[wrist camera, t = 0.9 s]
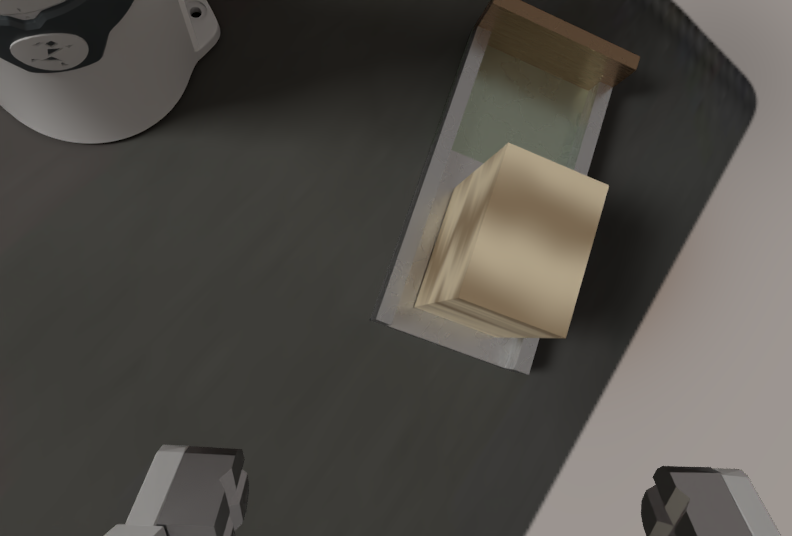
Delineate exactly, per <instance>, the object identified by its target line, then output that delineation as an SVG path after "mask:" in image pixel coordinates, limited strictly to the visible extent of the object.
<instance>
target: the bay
mask: <svg viewBox="0 0 792 536" xmlns="http://www.w3.org/2000/svg"><path fill="white" fill-rule="evenodd" d="M639 59H640V56H638V55H636V54H633V53H631V52H629V51H627V50H625V49H623V48H621V47H619V46H616V45H614V44H612V43H610V42H608V41H606V40H604V39H602V38H599V37H597V36H595V35H593V34H591V33H589V32H587V31H585V30H582V29H580V28H578V27H576V26H574V25H572V24H570V23H568V22H565V21H563V20H561V19H559V18H557V17H555V16H553V15H551V14H548V13H546V12H544V11H542V10H540V9H538V8H536V7H534V6H531V5H529V4H527V3H525V2H523V1H521V0H490V2H489V4H488V5H487V7H486V8H485V10H484V12H483V13H482V15H481V16H480V18H479V20H478V21H477V23H476V24H475V26H474V27H473V29H472V31H471V33H470V36H469V39H468V41H467V44H466V47H465V50H464V53H463V56H462V59H461V61H460V64H459V67H458V70H457V73H456V76H455V79H454V81H453V84H452V87H451V90H450V93H449V96H448V99H447V101H446V104H445V107H444V110H443V113H442V116H441V119H440V121H439V124H438V127H437V130H436V133H435V136H434V139H433V141H432V144H431V147H430V150H429V153H428V156H427V159H426V161H425V164H424V167H423V170H422V173H421V176H420V179H419V181H418V184H417V187H416V190H415V193H414V196H413V199H412V201H411V204H410V207H409V210H408V213H407V216H406V219H405V221H404V224H403V227H402V230H401V233H400V236H399V239H398V241H397V244H396V247H395V250H394V253H393V256H392V258H391V261H390V264H389V267H388V270H387V273H386V276H385V278H384V281H383V284H382V287H381V290H380V293H379V296H378V298H377V301H376V304H375V307H374V310H373V313H372V316H371V318H370V321H373V322H376V323H378V324H381V325H384V326H387V327H389V328H392V329H395V330H398V331H400V332H403V333H406V334H409V335H412V336H414V337H417V338H420V339H423V340H425V341H428V342H431V343H434V344H437V345H439V346H442V347H445V348H448V349H450V350H453V351H456V352H459V353H461V354H464V355H467V356H470V357H473V358H475V359H478V360H481V361H484V362H486V363H489V364H492V365H495V366H498V367H500V368H503V369H506V370H509V371H511V372H515V373H521V374H527V375H529V372H530V369H531V366H532V362H533V359H534V355H535V352H536V348H537V345H538V342H539V338H496V337H494V336H491V335H488V334H485V333H483V332H480V331H477V330H475V329H472V328H469V327H466V326H464V325H461V324H458V323H456V322H453V321H450V320H448V319H445V318H442V317H439V316H437V315H434V314H431V313H429V312H426V311H423V310H420V309H418V308H415V307H414V305H415V303H416V300H417V297H418V294H419V291H420V288H421V285H422V282H423V279H424V276H425V273H426V270H427V267H428V264H429V261H430V258H431V255H432V252H433V249H434V246H435V243H436V240H437V237H438V234H439V231H440V228H441V225H442V222H443V219H444V216H445V214H446V211H447V208H448V205H449V202H450V199H451V196H452V193H453V190H454V188H455V187H456V186H457V185H459V184H460V183H461V182H462V181H463V180H465V179H466V178H467V177H468V176H469V175H470V174H472V173H473V172H474V171H475V170H476V169H478V168H479V167H480V166H481V165H482V164H484V163H485V162H486V161H487V160H488V159H489V158H491V157H492V156H493V155H494V154H495V153H497V152H498V151H499V150H500V149H501V148H503V147H504V146H505V145H506V144H507V143H508V142H509V143H511V144H513V145H516V146H518V147H520V148H523V149H525V150H527V151H530V152H532V153H534V154H537V155H539V156H541V157H544V158H546V159H548V160H551V161H553V162H555V163H558V164H560V165H562V166H565V167H567V168H569V169H572V170H574V171H577V172H579V173H581V174H584V175H586V176H587V174H588V171H589V167H590V164H591V160H592V157H593V153H594V150H595V147H596V143H597V140H598V136H599V133H600V129H601V126H602V123H603V119H604V116H605V112H606V109H607V106H608V102H609V99H610V95H611V92H612V88H613V87H614V86H616V85H617V84H618V83H620V82H621V81H622V80H624V79H625V78H626V77H628V76H629V75H630V74H632V73H633V72H634V71H636V69H637V66H638V62H639Z"/></svg>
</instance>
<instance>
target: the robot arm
mask: <svg viewBox="0 0 792 536" xmlns="http://www.w3.org/2000/svg"><path fill="white" fill-rule="evenodd" d="M194 12H199V13H201V16H200V17H198V18H194V17H192V16H191V15H192V14H193V13H194ZM219 37H220V27H219V24H218V22H217V19H216V17H215V15H214V13H213V11H212V9H211V7H210V5H209V4H208V2H207V0H0V105H1V106H2V107H3V108H4V109H5V110H6V111H8V112H9V113H10V114H11V115H12V116H14V117H15V118H16V119H17V120H19V121H20V122H22V123H23V124H25V125H26V126H28V127H30V128H31V129H33V130H35V131H37V132H39V133H42V134H44V135H47V136H49V137H52V138H56V139H59V140H63V141H68V142H74V143H90V144H92V143H106V142H112V141H117V140H121V139H125V138H128V137H131V136H133V135H136V134H138V133H140V132H142V131H144V130H146V129H148V128H150V127H151V126H153V125H154V124H156V123H157V122H158V121H160V120H161V119H162V118H163V117H164V116H166V115H167V114H168V113H169V112H170V111H171V109H172V108H173V107H174V106H175V105H176V103H177V102H178V101H179V99H180V98H181V96H182V94H183V92H184V91H185V88H186V86H187V84H188V81H189V79H190V76H191V74H192V71H193V69H194V67H195V65H196V63H197V62H198V61H199V60H200V59H201V58H202V57H203V56H204V55H205V54H206V53H207V52H208V51H209V50H210V49H211V48H212V47H213V46H214V45H215V44H216V43H217V41H218V39H219ZM244 460H245V459H244V455H243V451H242V449H231V448H214V447H197V446H182V445H163V446H162V447H161V448H160V449H159V450H158V452H157V453H156V455H155V457H154V460H153V462H152V464H151V466H150V469H149V471H148V473H147V476H146V478H145V480H144V482H143V485H142V487H141V489H140V491H139V494H138V496H137V498H136V501H135V503H134V505H133V507H132V510H131V512H130V514H129V516H128V519H127V521H126V523H125V524H117V525H116V526H114V527H113V528H112V529H111V530H110V531H109V532H107V533H106V534H105V535H104V536H235V530H236V529H237V528H238V527H239V526H240V525H241V524H242V523H243V521H244V517H245V513H246V509H247V502H248V494H249V481H248V475H247V473H246V472H245V471H243V470H242V467H243V464H244ZM653 479H654V481H655V484H656V485H655V486H653V487H651V488H650V489H648V490H646V492H645V494H644V497H643V499H642V505H641V517H642V522H643V527H644V530H645V533H646V536H781V534H780V533H779V531H778V529H777V527H776V526H775V524H774V522H773V520H772V518H771V517H770V515H769V513H768V511H767V509H766V508H765V506H764V504H763V502H762V501H761V499H760V497H759V495H758V493H757V492H756V490H755V488H754V486H753V484H752V483H751V481H750V479H749V477H748V476H747V475H746V474H745V473H744V472H743V471H742V470H739V469H712V468H711V467H710V468H709V467H673V466H662V467H660V468H658V469H657V470H656V472H655V474H654V476H653Z"/></svg>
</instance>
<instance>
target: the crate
mask: <svg viewBox="0 0 792 536" xmlns="http://www.w3.org/2000/svg"><path fill="white" fill-rule="evenodd" d="M608 188H609V185H607V184H605V183H602V182H600V181H598V180H595V179H593V178H591V177H588V176H586V175H584V174H581V173H579V172H577V171H574V170H572V169H569V168H567V167H565V166H562V165H560V164H558V163H555V162H553V161H551V160H548V159H546V158H544V157H541V156H539V155H537V154H534V153H532V152H530V151H527V150H525V149H523V148H520V147H518V146H516V145H513V144H511V143H509V142H508V143H507V144H506V145H505V146H504V147H503V148H501V149H500V150H499V151H498V152H497V153H495V154H494V155H493V156H492V157H491V158H489V159H488V160H487V161H486V162H485V163H484V164H482V165H481V166H480V167H479V168H478V169H476V170H475V171H474V172H473V173H472V174H470V175H469V176H468V177H467V178H466V179H465V180H463V181H462V182H461V183H460V184H459V185H457V186H456V187H455V188H454V190H453V193H452V196H451V199H450V202H449V205H448V208H447V211H446V214H445V216H444V219H443V222H442V225H441V228H440V231H439V234H438V237H437V240H436V243H435V246H434V249H433V252H432V255H431V258H430V261H429V264H428V267H427V270H426V273H425V276H424V279H423V282H422V285H421V288H420V291H419V294H418V297H417V300H416V303H415V305H414V307H415V308H418V309H420V310H423V311H426V312H429V313H431V314H434V315H437V316H439V317H442V318H445V319H448V320H450V321H453V322H456V323H458V324H461V325H464V326H466V327H469V328H472V329H475V330H477V331H480V332H483V333H485V334H488V335H491V336H494V337H496V338H566V336H567V332H568V329H569V325H570V322H571V318H572V315H573V311H574V308H575V304H576V301H577V297H578V294H579V290H580V287H581V283H582V279H583V276H584V272H585V269H586V265H587V262H588V258H589V255H590V251H591V248H592V244H593V241H594V237H595V234H596V230H597V227H598V223H599V219H600V216H601V212H602V209H603V205H604V202H605V198H606V195H607V191H608Z"/></svg>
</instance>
